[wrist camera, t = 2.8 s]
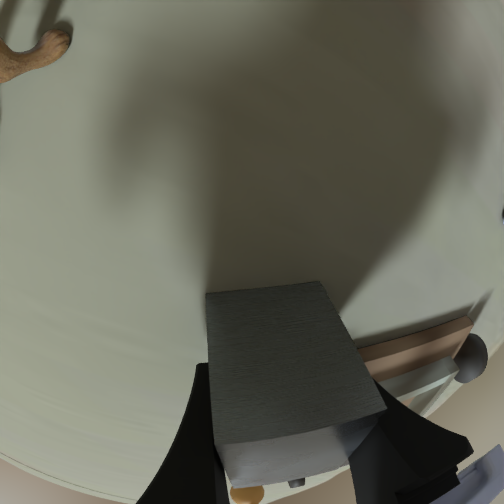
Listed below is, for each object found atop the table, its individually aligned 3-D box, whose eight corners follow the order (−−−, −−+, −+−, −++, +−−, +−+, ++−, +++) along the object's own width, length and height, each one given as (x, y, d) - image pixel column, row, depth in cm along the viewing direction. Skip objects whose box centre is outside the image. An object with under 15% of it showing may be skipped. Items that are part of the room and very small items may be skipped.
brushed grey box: (319, 281, 11) (387, 408, 6) (304, 370, 14) (337, 468, 9) (205, 293, 11) (214, 445, 5) (220, 382, 14) (233, 488, 8)
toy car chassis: (475, 311, 15) (503, 343, 12) (390, 433, 25) (401, 456, 22) (307, 359, 14) (329, 417, 11) (282, 465, 24) (288, 492, 21)
